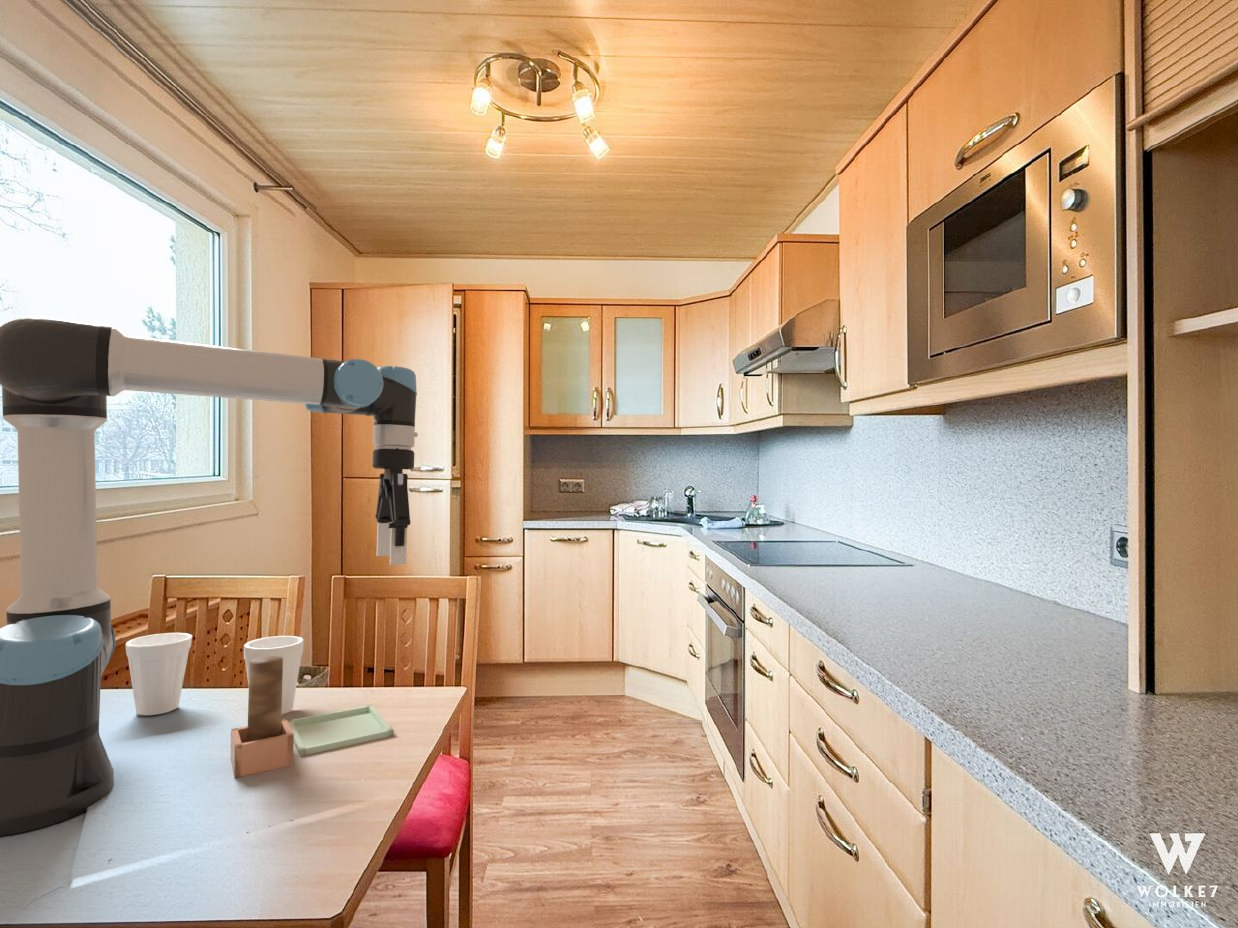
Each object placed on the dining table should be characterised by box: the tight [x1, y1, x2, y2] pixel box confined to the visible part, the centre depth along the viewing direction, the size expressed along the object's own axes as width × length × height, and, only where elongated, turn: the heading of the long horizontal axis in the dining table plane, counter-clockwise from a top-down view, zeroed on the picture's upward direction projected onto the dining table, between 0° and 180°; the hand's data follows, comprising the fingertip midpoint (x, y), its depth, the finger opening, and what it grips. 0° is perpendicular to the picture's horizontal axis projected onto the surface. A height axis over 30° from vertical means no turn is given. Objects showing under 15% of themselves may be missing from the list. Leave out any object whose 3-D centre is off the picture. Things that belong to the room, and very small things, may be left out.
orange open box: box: [230, 718, 294, 779], centre depth 94 cm, size 7×7×5 cm
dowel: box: [247, 656, 283, 742], centre depth 95 cm, size 4×4×15 cm
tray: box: [287, 704, 395, 757], centre depth 106 cm, size 14×14×2 cm
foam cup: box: [243, 635, 305, 716], centre depth 115 cm, size 10×9×13 cm
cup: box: [125, 632, 193, 716], centre depth 115 cm, size 10×10×13 cm
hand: (390, 559), depth 120 cm, fingers open, 13 cm apart
